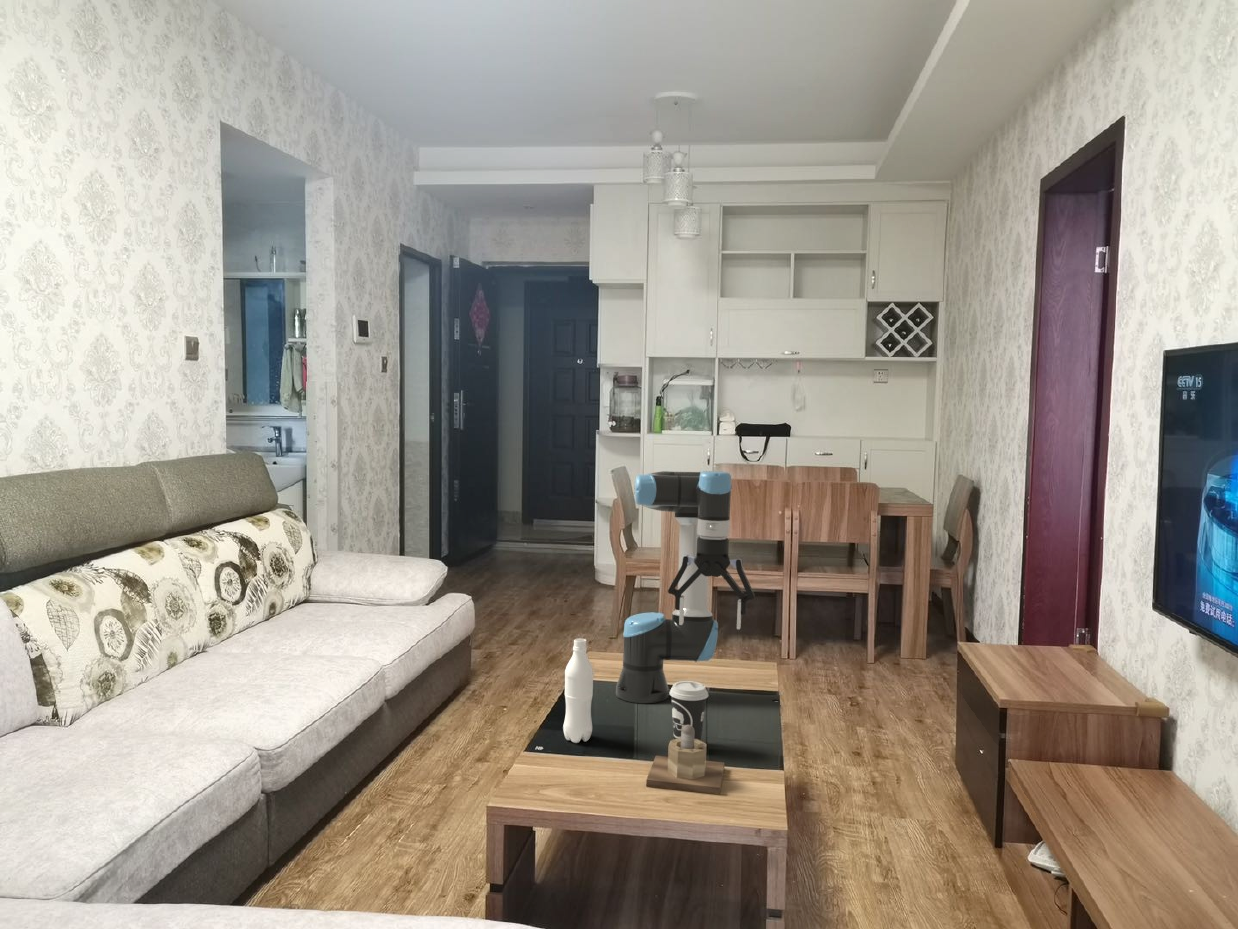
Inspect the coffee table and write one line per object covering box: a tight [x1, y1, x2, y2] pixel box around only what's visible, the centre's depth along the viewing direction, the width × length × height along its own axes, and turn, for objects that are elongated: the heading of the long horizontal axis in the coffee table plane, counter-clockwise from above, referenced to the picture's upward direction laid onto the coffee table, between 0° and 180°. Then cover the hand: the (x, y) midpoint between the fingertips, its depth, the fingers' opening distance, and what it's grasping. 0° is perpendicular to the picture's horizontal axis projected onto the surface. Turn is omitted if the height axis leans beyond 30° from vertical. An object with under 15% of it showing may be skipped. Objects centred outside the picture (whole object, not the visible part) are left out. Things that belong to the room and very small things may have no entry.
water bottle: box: [562, 638, 595, 744], centre depth 222 cm, size 7×7×25 cm
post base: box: [645, 725, 725, 795], centre depth 201 cm, size 14×16×12 cm
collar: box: [667, 738, 707, 779], centre depth 201 cm, size 8×8×6 cm
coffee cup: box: [668, 680, 709, 741], centre depth 220 cm, size 10×10×15 cm
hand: (709, 626), depth 212 cm, fingers open, 13 cm apart
